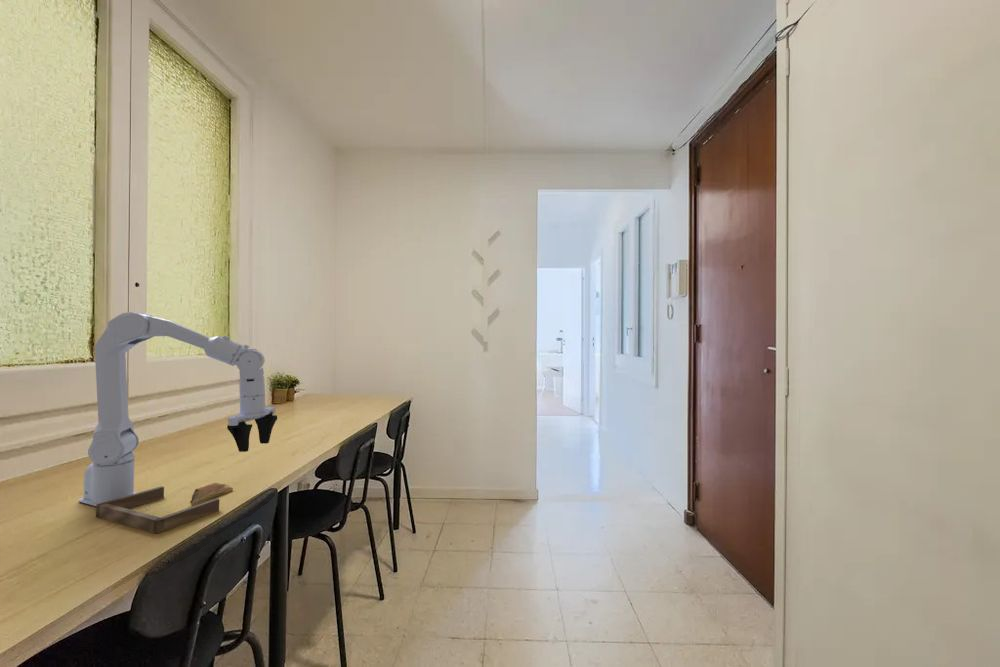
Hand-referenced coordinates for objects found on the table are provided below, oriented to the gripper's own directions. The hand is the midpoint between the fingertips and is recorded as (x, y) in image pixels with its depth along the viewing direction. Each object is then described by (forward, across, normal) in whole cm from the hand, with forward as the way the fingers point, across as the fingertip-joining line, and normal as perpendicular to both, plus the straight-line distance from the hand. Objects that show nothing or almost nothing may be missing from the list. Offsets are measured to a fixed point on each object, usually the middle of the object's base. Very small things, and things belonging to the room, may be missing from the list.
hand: (254, 447), depth 109 cm
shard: (+10, -9, +5) cm, 14 cm away
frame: (+9, -20, +7) cm, 23 cm away
